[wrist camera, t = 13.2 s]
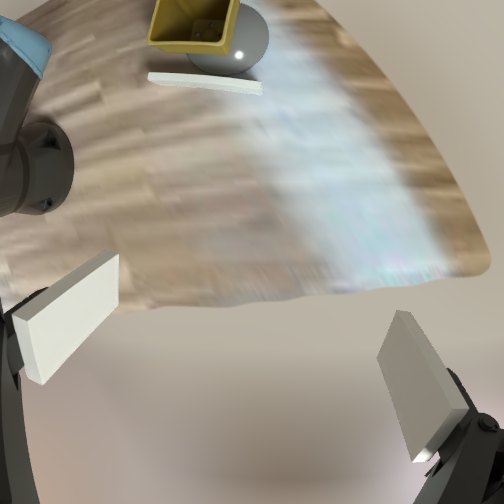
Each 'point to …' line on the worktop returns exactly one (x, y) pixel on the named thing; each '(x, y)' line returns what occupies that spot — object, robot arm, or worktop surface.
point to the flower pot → (193, 26)
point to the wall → (207, 82)
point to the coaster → (238, 45)
